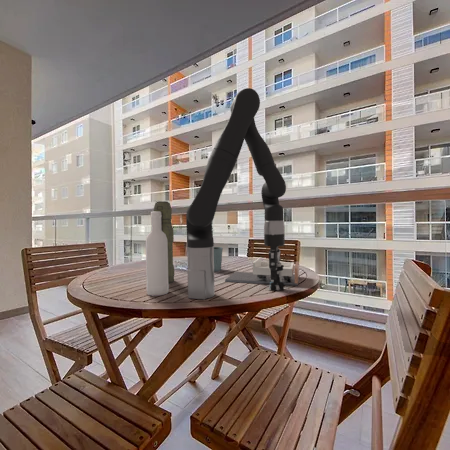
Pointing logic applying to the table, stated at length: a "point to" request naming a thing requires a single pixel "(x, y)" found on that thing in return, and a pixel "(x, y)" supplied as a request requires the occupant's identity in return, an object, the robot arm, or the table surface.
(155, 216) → the bottle
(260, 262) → the cart
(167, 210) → the thermos
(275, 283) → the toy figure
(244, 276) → the grey piece
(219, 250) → the drinking glass
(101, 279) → the table surface
